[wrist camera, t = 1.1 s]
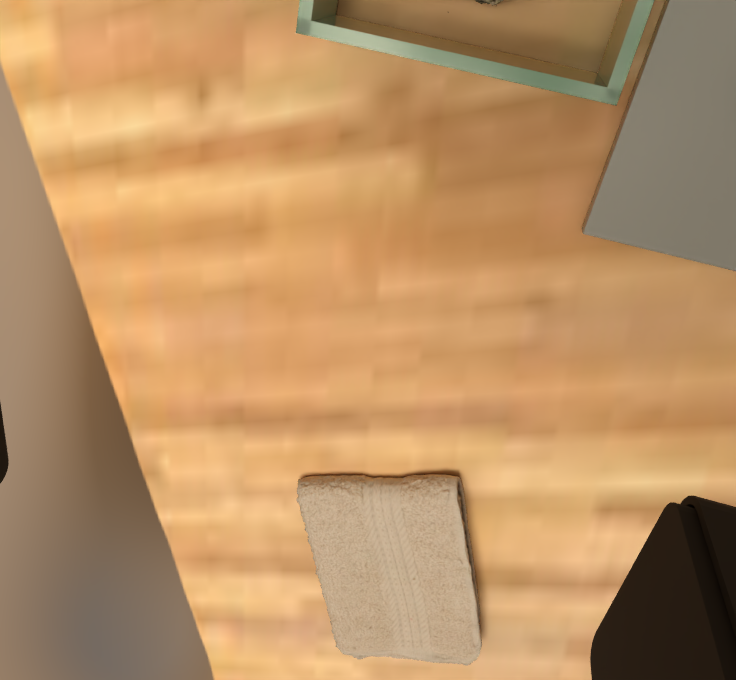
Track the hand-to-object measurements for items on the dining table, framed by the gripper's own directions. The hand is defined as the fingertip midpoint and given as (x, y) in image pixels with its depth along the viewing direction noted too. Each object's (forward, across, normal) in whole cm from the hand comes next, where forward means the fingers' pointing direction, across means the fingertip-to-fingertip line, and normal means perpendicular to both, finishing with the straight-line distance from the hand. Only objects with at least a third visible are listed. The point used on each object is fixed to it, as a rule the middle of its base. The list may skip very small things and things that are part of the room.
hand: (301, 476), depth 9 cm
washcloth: (+29, -3, +33) cm, 44 cm away
